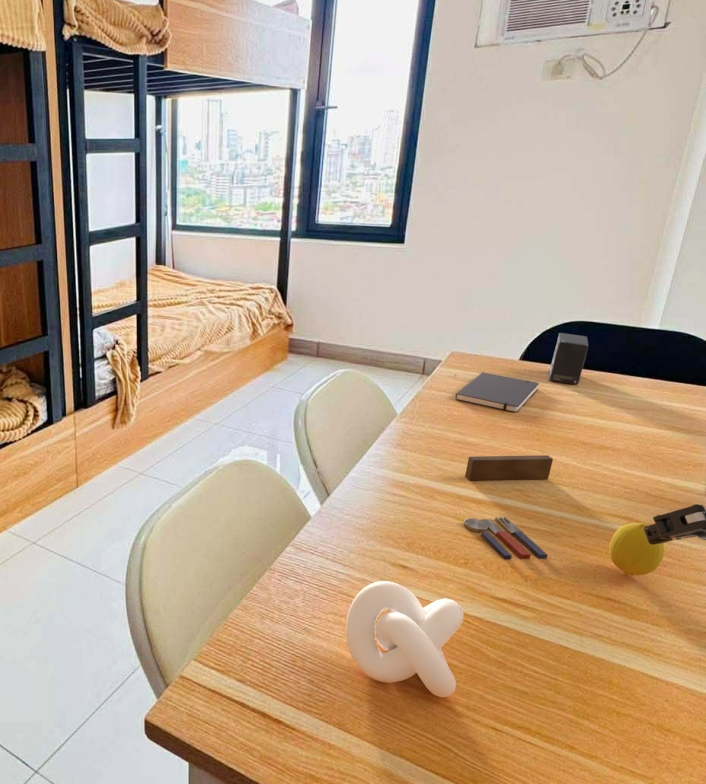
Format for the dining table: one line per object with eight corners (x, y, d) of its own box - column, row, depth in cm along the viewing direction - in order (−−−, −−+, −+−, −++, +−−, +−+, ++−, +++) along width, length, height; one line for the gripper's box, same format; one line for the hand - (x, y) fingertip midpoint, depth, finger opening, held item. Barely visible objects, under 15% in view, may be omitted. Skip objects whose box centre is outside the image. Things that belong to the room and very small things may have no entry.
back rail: (542, 475, 111) (547, 455, 110) (548, 479, 110) (553, 458, 109) (464, 476, 111) (468, 456, 110) (469, 480, 110) (473, 460, 109)
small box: (579, 385, 155) (590, 345, 152) (548, 381, 159) (557, 341, 155) (578, 374, 163) (588, 335, 160) (548, 370, 167) (557, 332, 163)
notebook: (481, 377, 162) (455, 399, 147) (482, 372, 161) (456, 393, 147) (538, 388, 154) (516, 413, 139) (539, 382, 153) (517, 406, 138)
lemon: (661, 591, 81) (679, 538, 79) (610, 582, 83) (626, 530, 80) (644, 567, 86) (661, 516, 83) (597, 559, 88) (611, 509, 85)
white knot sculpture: (491, 713, 64) (508, 642, 61) (377, 721, 63) (389, 650, 60) (430, 634, 74) (443, 571, 71) (332, 641, 73) (341, 577, 70)
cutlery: (549, 558, 88) (550, 554, 88) (496, 559, 88) (497, 555, 88) (505, 519, 98) (506, 515, 98) (458, 519, 98) (458, 515, 98)
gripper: (869, 462, 63) (727, 504, 78) (730, 465, 63) (614, 506, 78) (910, 537, 60) (754, 565, 75) (764, 540, 60) (636, 568, 75)
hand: (683, 535), depth 76 cm, fingers open, 8 cm apart
